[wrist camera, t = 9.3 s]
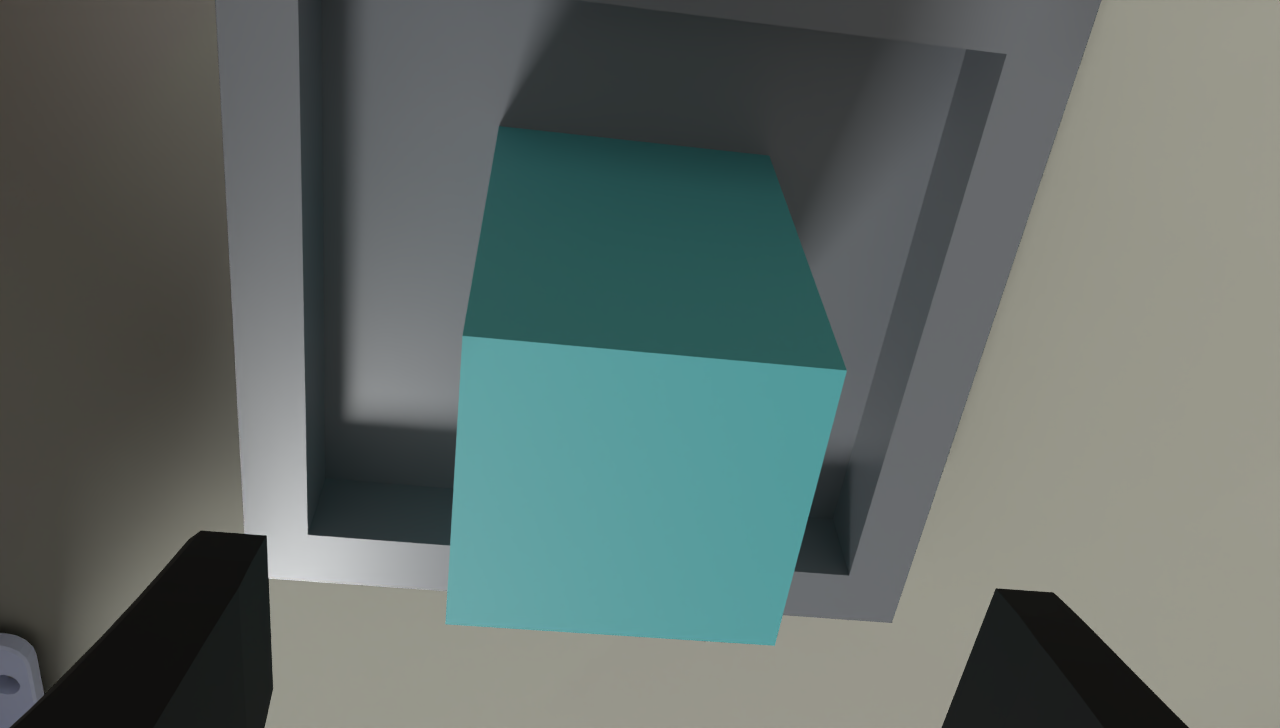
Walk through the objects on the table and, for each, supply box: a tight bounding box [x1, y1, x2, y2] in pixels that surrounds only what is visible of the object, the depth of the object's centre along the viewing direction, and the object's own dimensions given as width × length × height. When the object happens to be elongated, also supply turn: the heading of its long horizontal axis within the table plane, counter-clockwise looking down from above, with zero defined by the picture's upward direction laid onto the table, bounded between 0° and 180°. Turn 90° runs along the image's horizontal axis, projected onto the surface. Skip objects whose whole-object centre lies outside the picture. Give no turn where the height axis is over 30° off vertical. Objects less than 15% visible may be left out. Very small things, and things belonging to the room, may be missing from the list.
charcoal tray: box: [215, 0, 1101, 623], centre depth 18 cm, size 11×11×2 cm
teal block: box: [446, 126, 847, 646], centre depth 16 cm, size 4×4×6 cm
